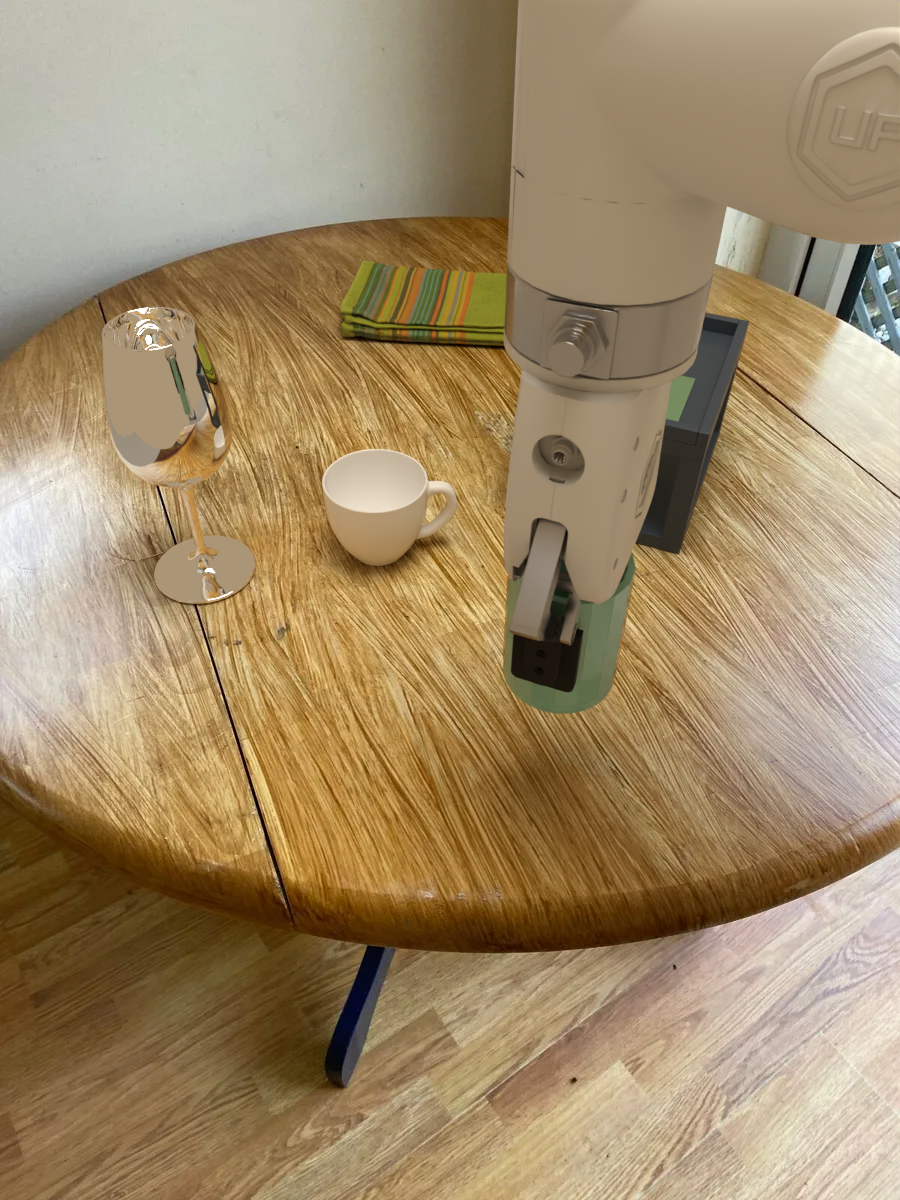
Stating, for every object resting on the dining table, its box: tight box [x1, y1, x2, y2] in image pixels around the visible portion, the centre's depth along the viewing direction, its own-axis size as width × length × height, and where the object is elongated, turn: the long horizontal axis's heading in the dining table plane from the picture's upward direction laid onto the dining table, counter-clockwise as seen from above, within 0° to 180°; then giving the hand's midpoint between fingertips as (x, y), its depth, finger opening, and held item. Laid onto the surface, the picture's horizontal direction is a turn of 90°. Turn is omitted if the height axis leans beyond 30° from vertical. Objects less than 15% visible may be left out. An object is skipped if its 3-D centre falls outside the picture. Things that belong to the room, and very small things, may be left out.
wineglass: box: [101, 306, 257, 605], centre depth 62 cm, size 8×8×20 cm
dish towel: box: [339, 259, 507, 347], centre depth 98 cm, size 15×36×3 cm, turn 85°
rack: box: [635, 312, 750, 555], centre depth 75 cm, size 14×18×11 cm
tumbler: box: [502, 552, 637, 715], centre depth 46 cm, size 6×6×8 cm
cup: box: [321, 448, 458, 567], centre depth 69 cm, size 8×10×7 cm
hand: (563, 632), depth 47 cm, fingers closed on tumbler, 6 cm apart
